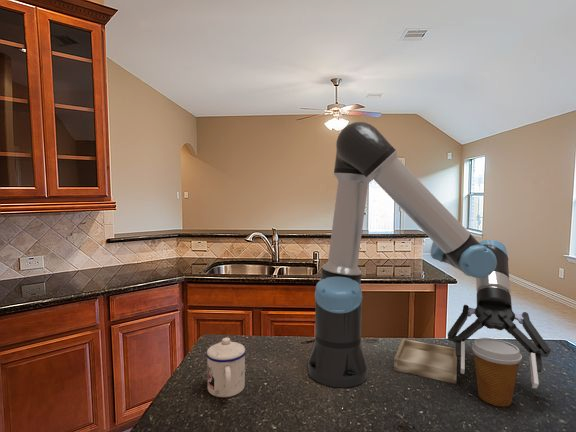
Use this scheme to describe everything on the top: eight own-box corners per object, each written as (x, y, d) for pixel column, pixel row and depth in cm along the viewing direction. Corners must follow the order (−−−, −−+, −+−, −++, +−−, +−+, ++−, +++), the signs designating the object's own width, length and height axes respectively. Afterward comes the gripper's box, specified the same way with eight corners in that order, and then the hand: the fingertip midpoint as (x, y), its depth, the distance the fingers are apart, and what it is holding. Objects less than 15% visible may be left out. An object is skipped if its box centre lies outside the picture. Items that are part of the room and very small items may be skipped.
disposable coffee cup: (528, 414, 71) (530, 357, 70) (478, 408, 72) (480, 353, 72) (508, 389, 80) (510, 339, 79) (464, 384, 82) (466, 335, 81)
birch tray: (393, 370, 89) (393, 358, 88) (402, 348, 102) (402, 338, 101) (456, 384, 82) (456, 371, 82) (456, 359, 95) (457, 348, 95)
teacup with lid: (206, 380, 83) (206, 333, 83) (243, 375, 86) (243, 330, 85) (206, 409, 72) (206, 354, 71) (249, 403, 74) (249, 350, 73)
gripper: (550, 307, 84) (565, 398, 71) (440, 295, 95) (435, 371, 83) (557, 291, 79) (574, 386, 66) (439, 280, 90) (435, 359, 78)
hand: (497, 378), depth 74 cm, fingers open, 13 cm apart
